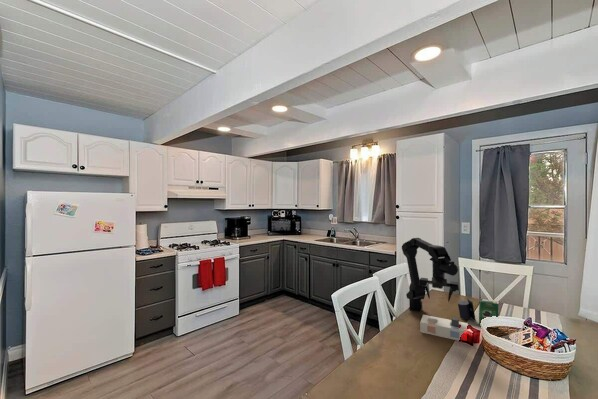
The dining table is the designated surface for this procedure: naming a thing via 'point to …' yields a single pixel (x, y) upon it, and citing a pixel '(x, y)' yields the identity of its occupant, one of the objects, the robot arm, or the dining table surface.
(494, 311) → the coffee box
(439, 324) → the port block
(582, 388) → the dining table surface
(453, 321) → the plug
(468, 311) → the speaker
